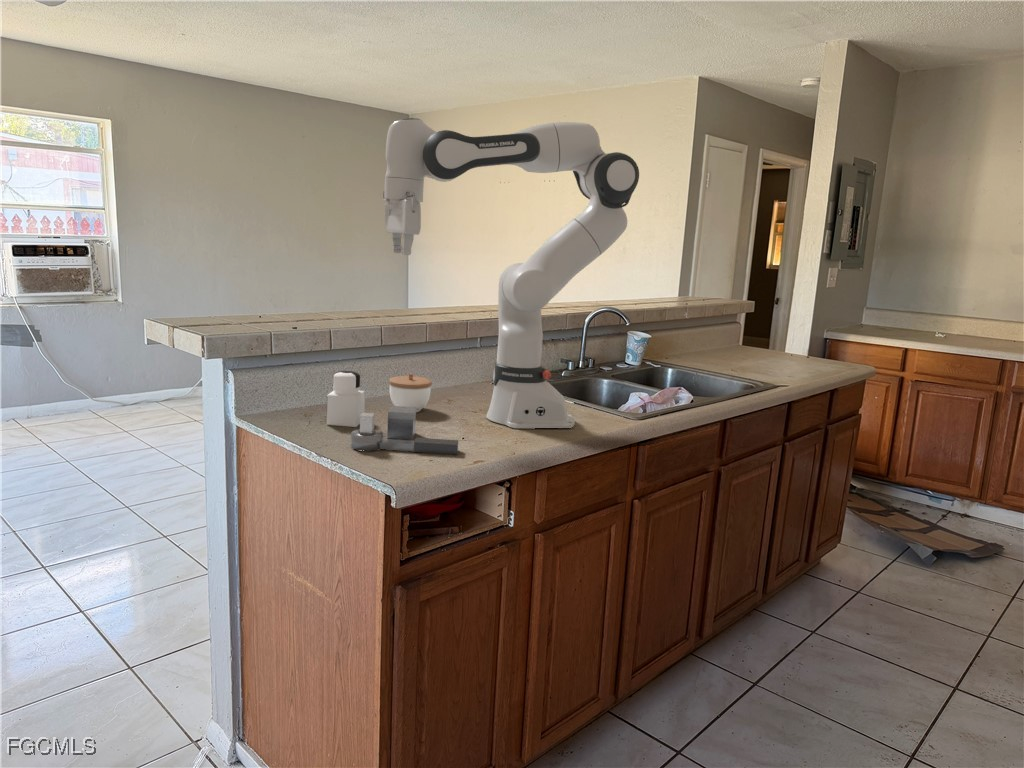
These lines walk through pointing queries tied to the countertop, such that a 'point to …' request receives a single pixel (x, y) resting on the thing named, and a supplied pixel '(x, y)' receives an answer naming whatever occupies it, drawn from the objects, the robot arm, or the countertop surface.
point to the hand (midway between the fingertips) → (401, 253)
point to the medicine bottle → (345, 400)
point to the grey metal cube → (401, 422)
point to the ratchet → (373, 440)
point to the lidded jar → (410, 391)
